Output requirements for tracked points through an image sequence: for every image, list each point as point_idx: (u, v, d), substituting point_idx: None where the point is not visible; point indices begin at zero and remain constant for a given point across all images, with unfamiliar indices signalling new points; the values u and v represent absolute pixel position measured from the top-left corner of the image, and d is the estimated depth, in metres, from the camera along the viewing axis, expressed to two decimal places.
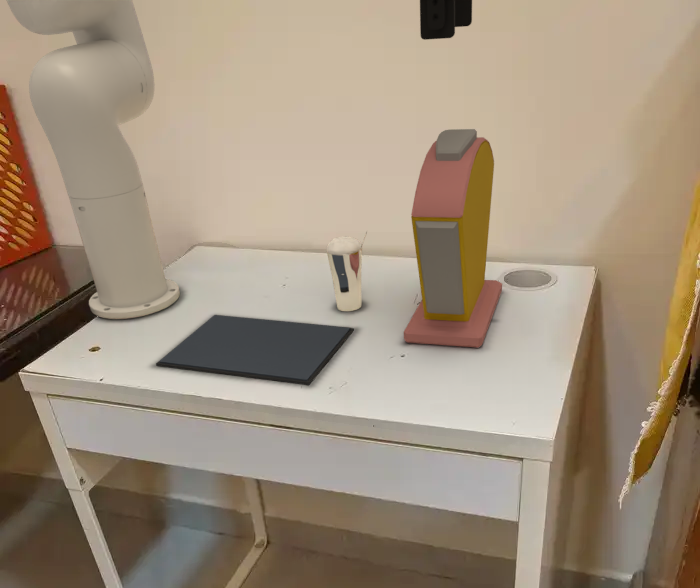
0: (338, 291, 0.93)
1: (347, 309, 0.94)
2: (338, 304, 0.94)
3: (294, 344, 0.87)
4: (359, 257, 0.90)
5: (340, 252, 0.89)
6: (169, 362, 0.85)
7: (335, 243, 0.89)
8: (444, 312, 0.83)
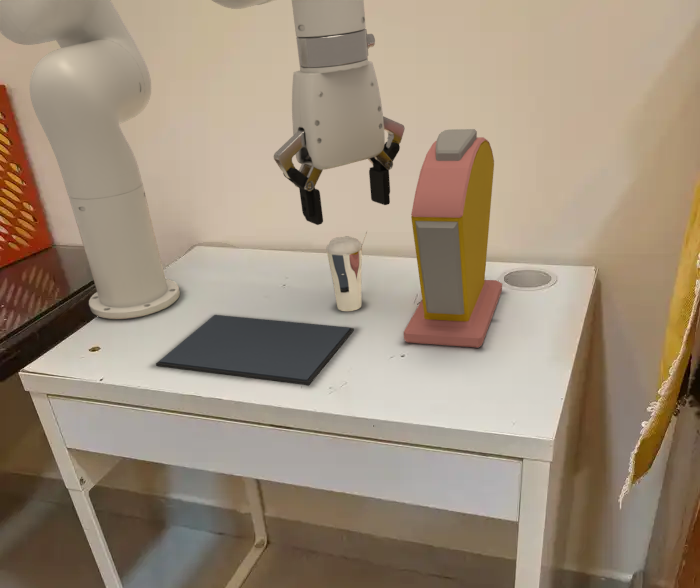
0: (338, 291, 0.93)
1: (347, 309, 0.94)
2: (338, 304, 0.94)
3: (294, 344, 0.87)
4: (359, 257, 0.90)
5: (340, 252, 0.89)
6: (169, 362, 0.85)
7: (335, 243, 0.89)
8: (444, 312, 0.83)
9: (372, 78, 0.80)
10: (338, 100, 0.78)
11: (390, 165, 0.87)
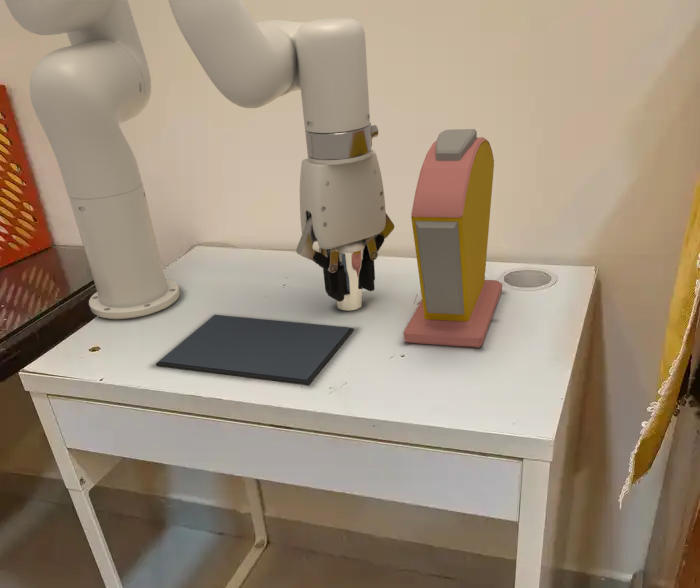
0: None
1: (347, 308, 0.94)
2: (338, 303, 0.94)
3: (294, 344, 0.87)
4: (361, 256, 0.91)
5: (342, 250, 0.89)
6: (169, 362, 0.85)
7: None
8: (444, 312, 0.83)
9: (375, 167, 0.85)
10: (343, 188, 0.84)
11: (375, 256, 0.92)
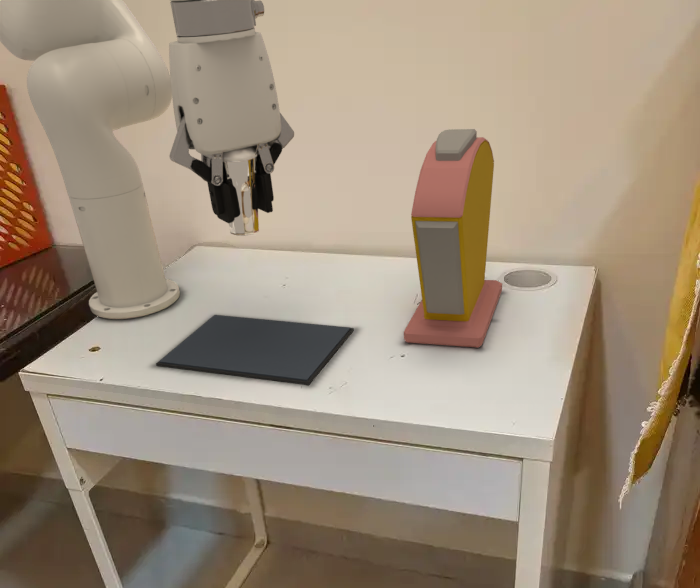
0: None
1: (241, 232, 0.79)
2: (230, 227, 0.79)
3: (294, 344, 0.87)
4: (253, 167, 0.76)
5: (228, 158, 0.74)
6: (169, 362, 0.85)
7: None
8: (444, 312, 0.83)
9: (261, 51, 0.70)
10: (220, 75, 0.69)
11: (271, 168, 0.77)
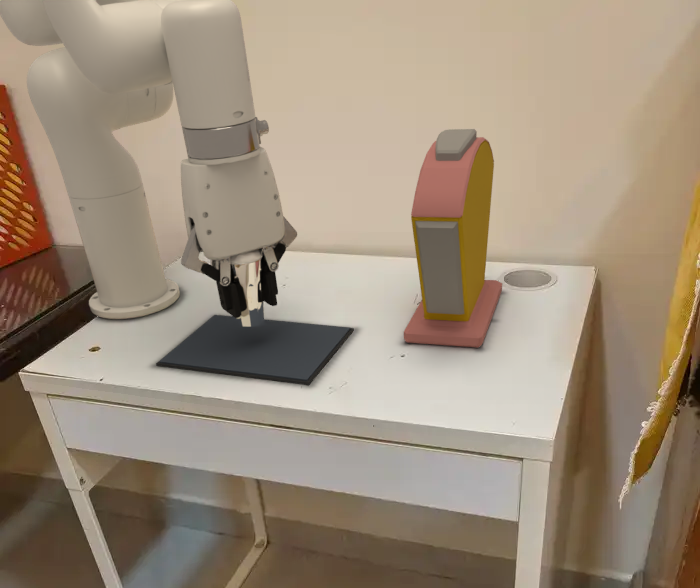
0: None
1: (247, 325, 0.84)
2: (238, 319, 0.85)
3: (294, 344, 0.87)
4: (258, 267, 0.81)
5: (235, 261, 0.79)
6: (169, 362, 0.85)
7: None
8: (444, 312, 0.83)
9: (266, 167, 0.76)
10: (228, 191, 0.74)
11: (275, 266, 0.83)
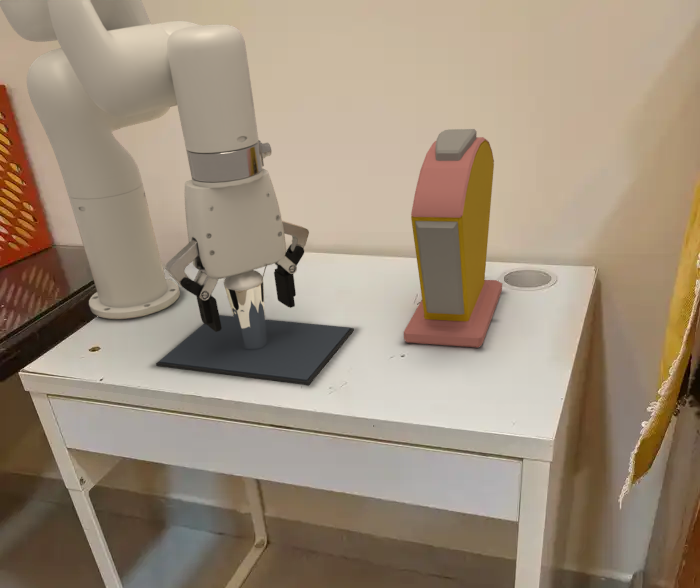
0: (239, 328, 0.85)
1: (250, 347, 0.86)
2: (241, 342, 0.86)
3: (294, 344, 0.87)
4: (259, 292, 0.82)
5: (236, 287, 0.81)
6: (169, 362, 0.85)
7: (232, 277, 0.81)
8: (444, 312, 0.83)
9: (268, 189, 0.77)
10: (231, 213, 0.76)
11: (294, 269, 0.84)
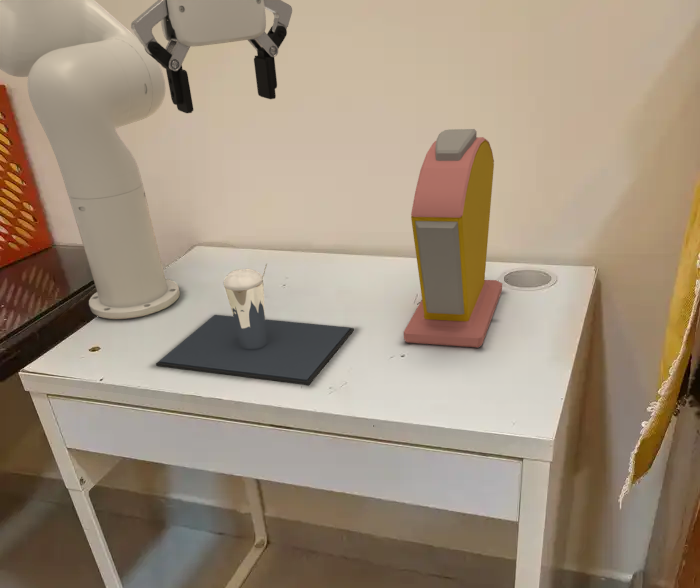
0: (239, 328, 0.85)
1: (250, 347, 0.86)
2: (241, 342, 0.86)
3: (294, 344, 0.87)
4: (259, 292, 0.82)
5: (236, 287, 0.81)
6: (169, 362, 0.85)
7: (232, 277, 0.81)
8: (444, 312, 0.83)
9: None
10: None
11: (275, 52, 0.77)
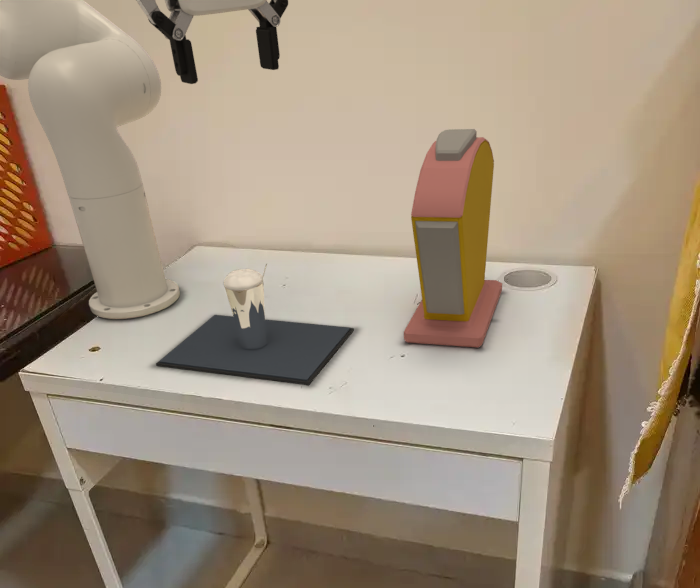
0: (239, 328, 0.85)
1: (250, 347, 0.86)
2: (241, 342, 0.86)
3: (294, 344, 0.87)
4: (259, 292, 0.82)
5: (236, 287, 0.81)
6: (169, 362, 0.85)
7: (232, 277, 0.81)
8: (444, 312, 0.83)
9: None
10: None
11: (277, 21, 0.77)
